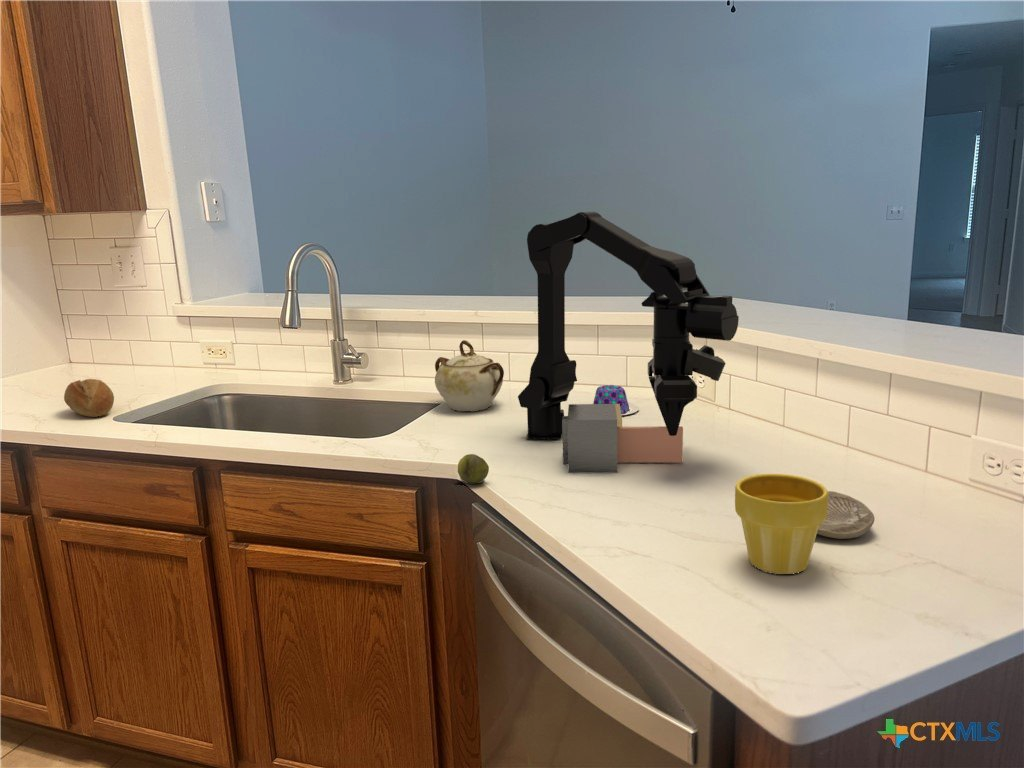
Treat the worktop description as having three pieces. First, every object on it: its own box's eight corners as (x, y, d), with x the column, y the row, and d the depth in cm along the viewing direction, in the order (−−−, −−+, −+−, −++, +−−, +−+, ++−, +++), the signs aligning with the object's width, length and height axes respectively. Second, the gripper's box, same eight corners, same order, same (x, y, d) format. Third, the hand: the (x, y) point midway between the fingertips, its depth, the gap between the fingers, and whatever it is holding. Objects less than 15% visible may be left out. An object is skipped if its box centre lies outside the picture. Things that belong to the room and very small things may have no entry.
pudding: (612, 422, 156) (612, 397, 155) (570, 412, 165) (570, 388, 163) (650, 411, 163) (650, 387, 162) (608, 401, 172) (608, 378, 171)
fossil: (822, 556, 97) (822, 536, 96) (768, 518, 107) (768, 499, 107) (892, 538, 99) (893, 518, 98) (833, 502, 110) (833, 484, 109)
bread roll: (77, 424, 168) (71, 388, 166) (60, 412, 179) (54, 378, 177) (124, 415, 174) (118, 380, 172) (105, 404, 185) (99, 372, 183)
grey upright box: (562, 472, 127) (561, 420, 125) (564, 453, 137) (563, 404, 135) (622, 472, 126) (622, 419, 124) (619, 453, 136) (619, 403, 134)
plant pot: (748, 538, 100) (751, 466, 98) (832, 556, 94) (837, 480, 92) (720, 569, 92) (722, 492, 90) (810, 591, 86) (815, 509, 84)
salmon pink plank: (574, 462, 131) (574, 428, 130) (574, 460, 132) (574, 427, 131) (682, 462, 129) (683, 428, 128) (681, 460, 130) (682, 426, 129)
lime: (455, 481, 125) (453, 452, 123) (483, 476, 126) (481, 447, 125) (464, 490, 121) (462, 460, 119) (492, 485, 122) (491, 455, 121)
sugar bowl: (414, 408, 171) (410, 342, 167) (459, 394, 182) (456, 332, 179) (481, 421, 159) (478, 350, 155) (526, 405, 170) (524, 338, 166)
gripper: (732, 344, 115) (729, 444, 119) (712, 325, 133) (710, 412, 137) (657, 345, 116) (656, 444, 120) (647, 326, 134) (647, 412, 138)
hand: (669, 427), depth 129 cm, fingers open, 9 cm apart
